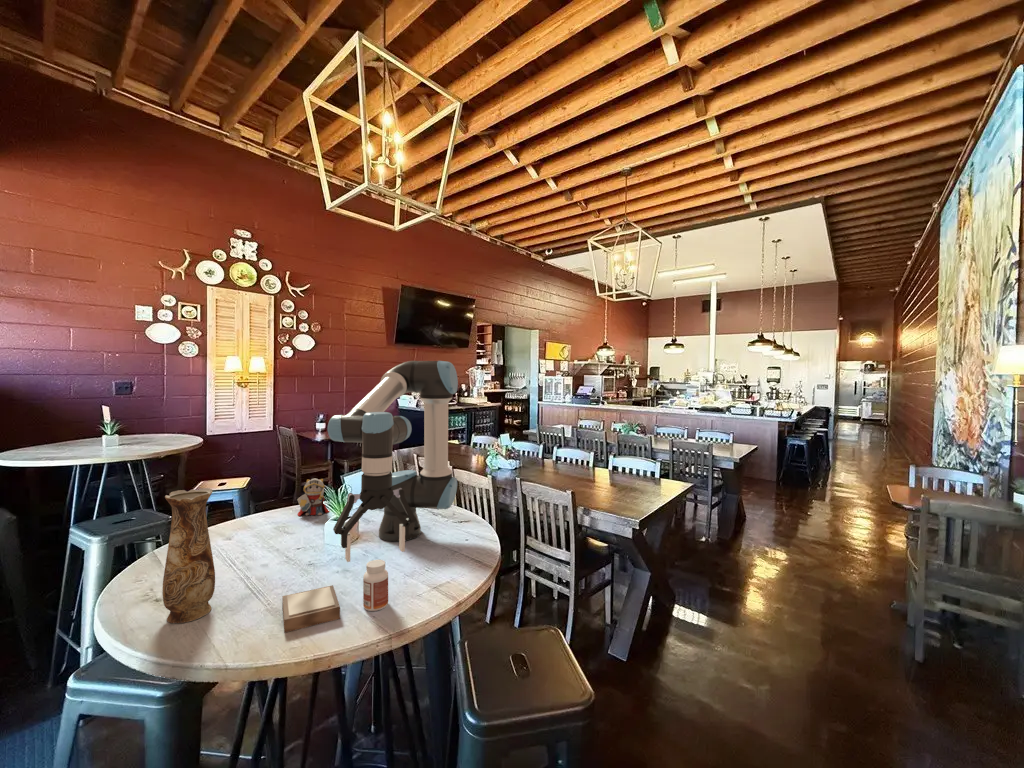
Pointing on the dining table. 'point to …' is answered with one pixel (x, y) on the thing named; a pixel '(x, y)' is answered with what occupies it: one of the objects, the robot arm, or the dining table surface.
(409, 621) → the dining table surface
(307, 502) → the figurine
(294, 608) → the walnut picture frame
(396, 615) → the dining table surface
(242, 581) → the dining table surface
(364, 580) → the pill bottle
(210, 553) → the vase
